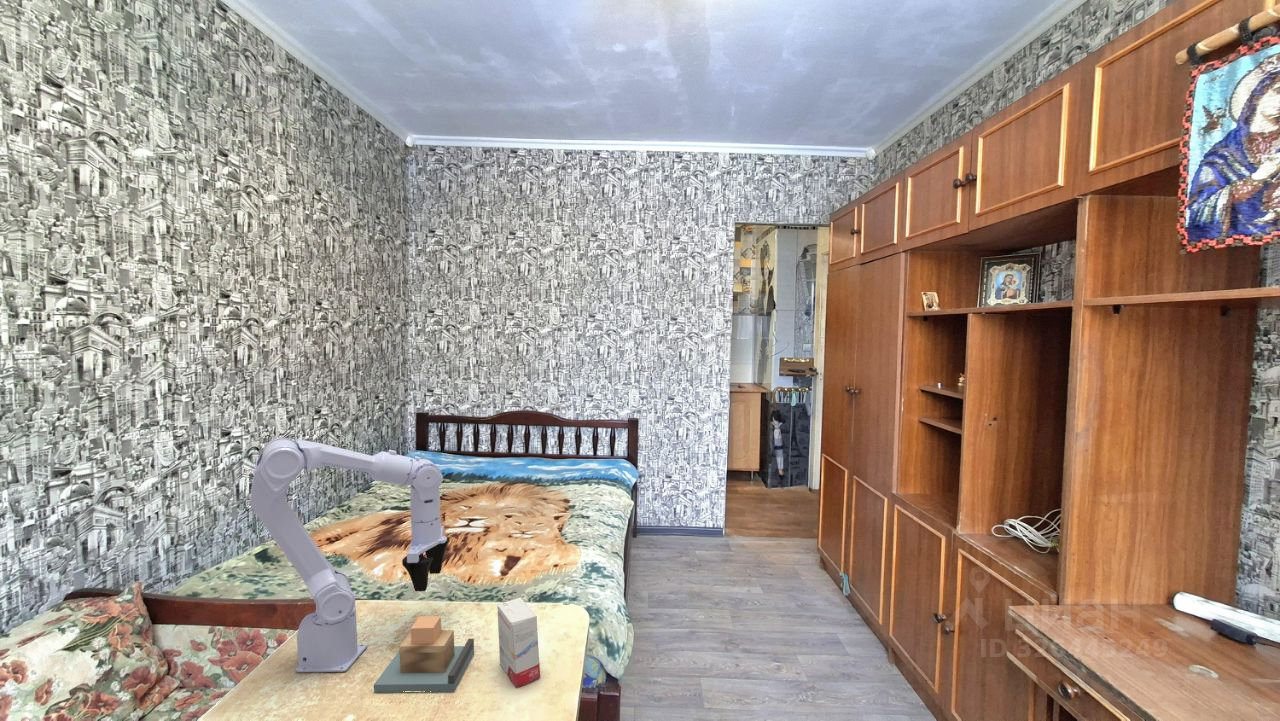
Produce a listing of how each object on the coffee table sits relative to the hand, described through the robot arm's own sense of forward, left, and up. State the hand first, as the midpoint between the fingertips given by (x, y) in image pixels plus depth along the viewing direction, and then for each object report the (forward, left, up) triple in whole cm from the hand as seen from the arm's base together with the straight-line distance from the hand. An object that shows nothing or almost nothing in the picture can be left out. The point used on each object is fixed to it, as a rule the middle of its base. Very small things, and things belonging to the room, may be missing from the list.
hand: (428, 581), depth 111 cm
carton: (+5, -14, -4) cm, 15 cm away
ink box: (+22, -14, -11) cm, 28 cm away
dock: (+5, -14, -10) cm, 18 cm away
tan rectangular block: (+5, -14, -9) cm, 17 cm away
